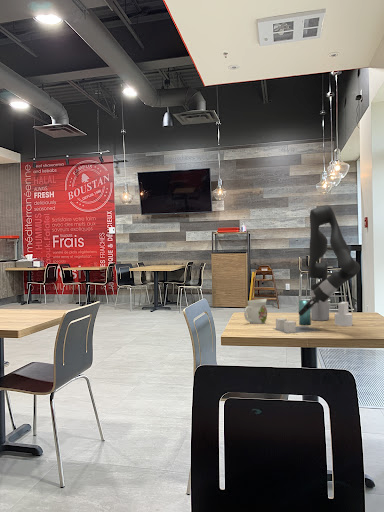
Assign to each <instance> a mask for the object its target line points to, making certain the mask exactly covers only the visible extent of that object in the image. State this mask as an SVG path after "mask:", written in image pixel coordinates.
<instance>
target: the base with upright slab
mask: <svg viewBox="0 0 384 512" xmlns="http://www.w3.org/2000/svg"><path fill="white" fill-rule="evenodd" d="M337 309H338V311H337V312H334V326H337V325H339V326H338V327H352V326H353V313H350V312H349V301H340V302H338V304H337Z"/></svg>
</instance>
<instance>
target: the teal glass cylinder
mask: <svg viewBox="0 0 384 512" xmlns="http://www.w3.org/2000/svg"><path fill="white" fill-rule="evenodd" d="M309 300H310V299H300V300H298V320H299V321H298V322H299V323H298V325H299V326H307V327H309V326H311V325H312V319H311V308H310V309H309V310H308V311H306V312H305V313H304V314H303V315H302V316H301V315H300V314H299V312H300V311H301V310H302V309H303V307H304V306H305V305H306V303H307V302H308V301H309ZM306 307H307V308H309V306H306Z"/></svg>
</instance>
